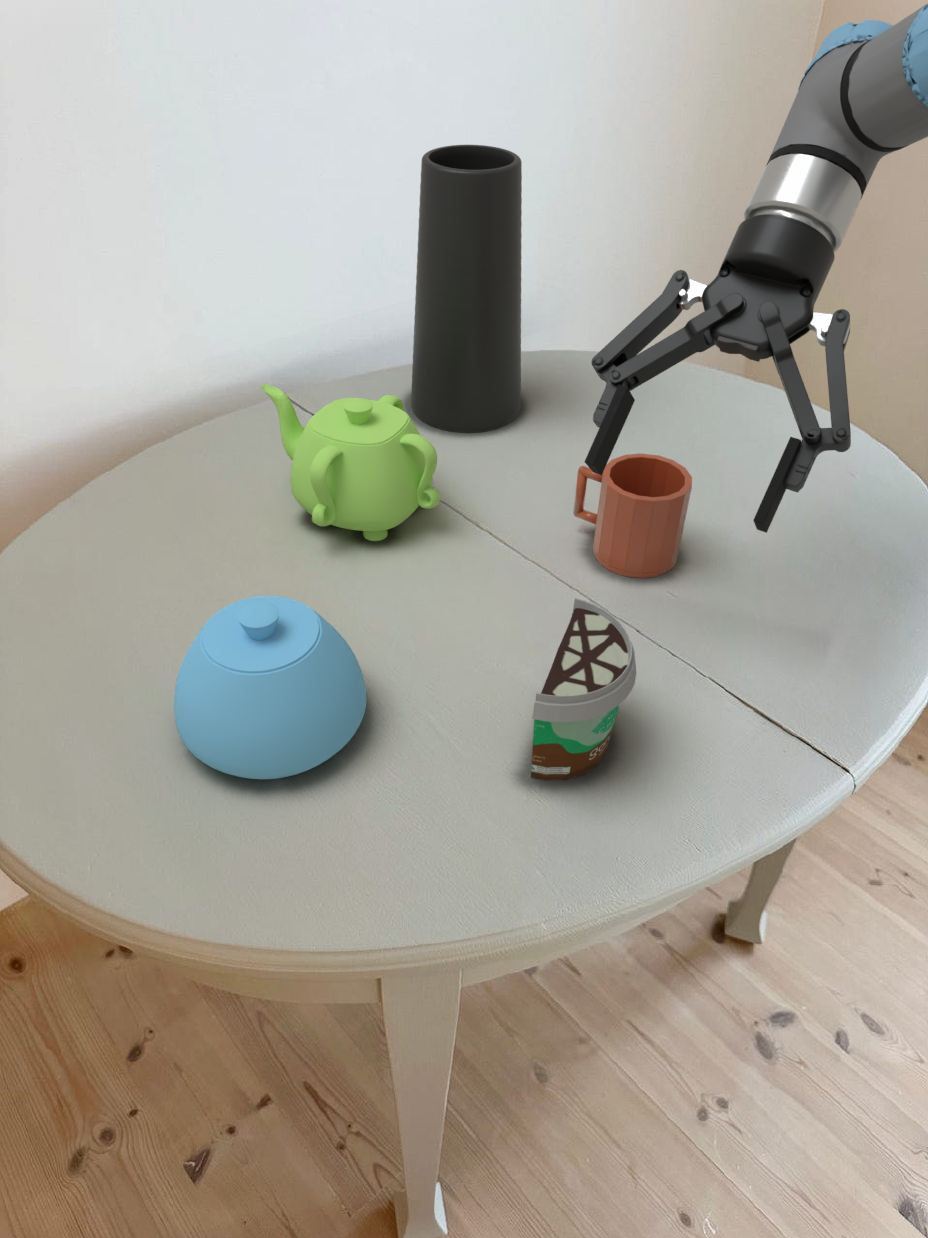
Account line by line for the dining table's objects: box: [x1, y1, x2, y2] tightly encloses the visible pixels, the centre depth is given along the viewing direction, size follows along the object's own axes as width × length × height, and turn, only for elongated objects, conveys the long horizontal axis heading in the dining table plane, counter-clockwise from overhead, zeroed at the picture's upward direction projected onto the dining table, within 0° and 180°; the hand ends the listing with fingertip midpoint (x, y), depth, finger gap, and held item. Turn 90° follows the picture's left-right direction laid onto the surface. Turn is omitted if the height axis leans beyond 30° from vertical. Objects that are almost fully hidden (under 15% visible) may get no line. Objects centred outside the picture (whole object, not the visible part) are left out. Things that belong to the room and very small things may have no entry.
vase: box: [410, 144, 523, 433], centre depth 110 cm, size 14×14×29 cm
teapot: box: [260, 384, 441, 542], centre depth 97 cm, size 16×14×13 cm
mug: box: [572, 453, 693, 579], centre depth 94 cm, size 11×8×9 cm
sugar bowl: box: [173, 595, 367, 780], centre depth 74 cm, size 15×15×12 cm
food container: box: [530, 598, 637, 781], centre depth 73 cm, size 12×6×10 cm, turn 161°
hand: (673, 497), depth 72 cm, fingers open, 13 cm apart
